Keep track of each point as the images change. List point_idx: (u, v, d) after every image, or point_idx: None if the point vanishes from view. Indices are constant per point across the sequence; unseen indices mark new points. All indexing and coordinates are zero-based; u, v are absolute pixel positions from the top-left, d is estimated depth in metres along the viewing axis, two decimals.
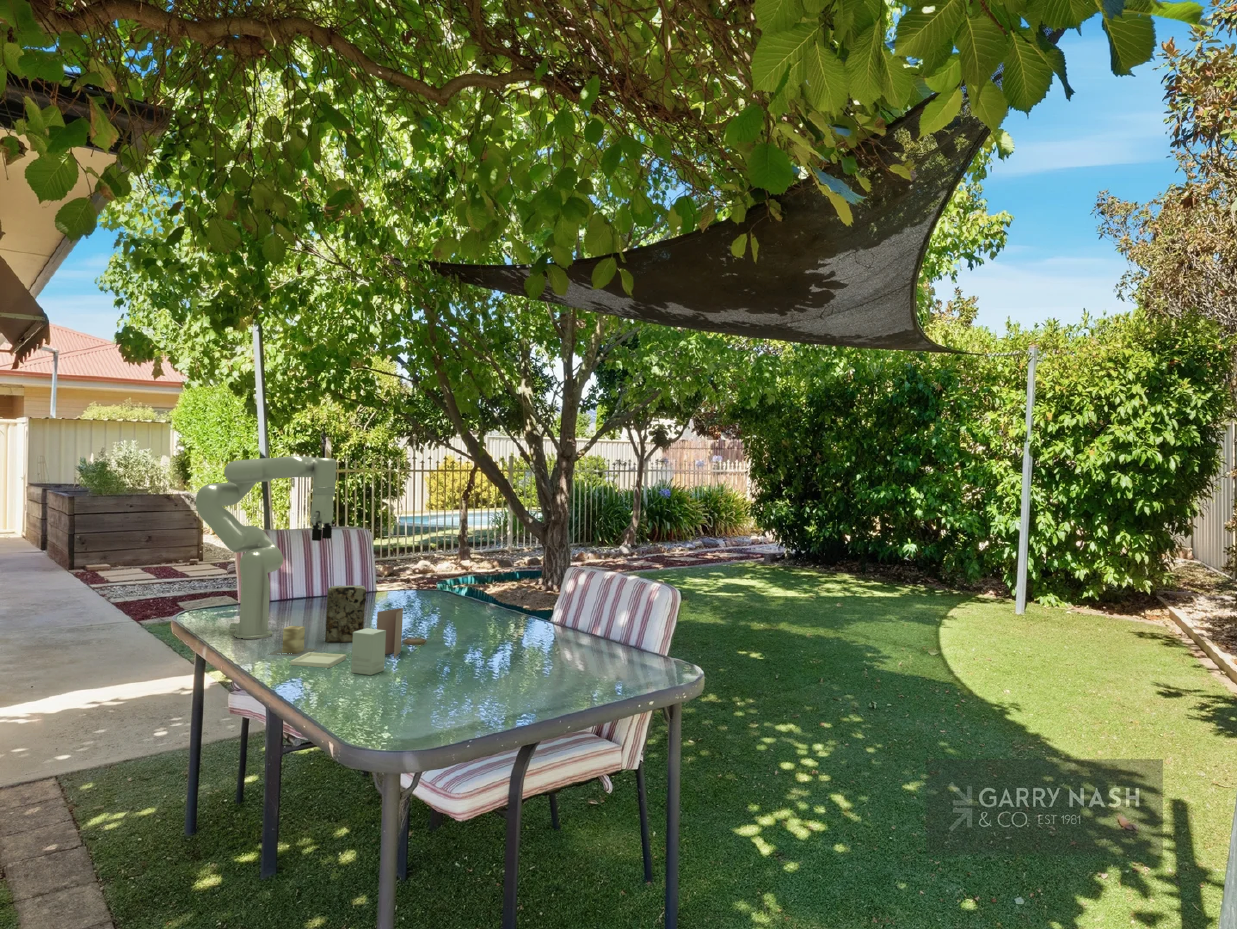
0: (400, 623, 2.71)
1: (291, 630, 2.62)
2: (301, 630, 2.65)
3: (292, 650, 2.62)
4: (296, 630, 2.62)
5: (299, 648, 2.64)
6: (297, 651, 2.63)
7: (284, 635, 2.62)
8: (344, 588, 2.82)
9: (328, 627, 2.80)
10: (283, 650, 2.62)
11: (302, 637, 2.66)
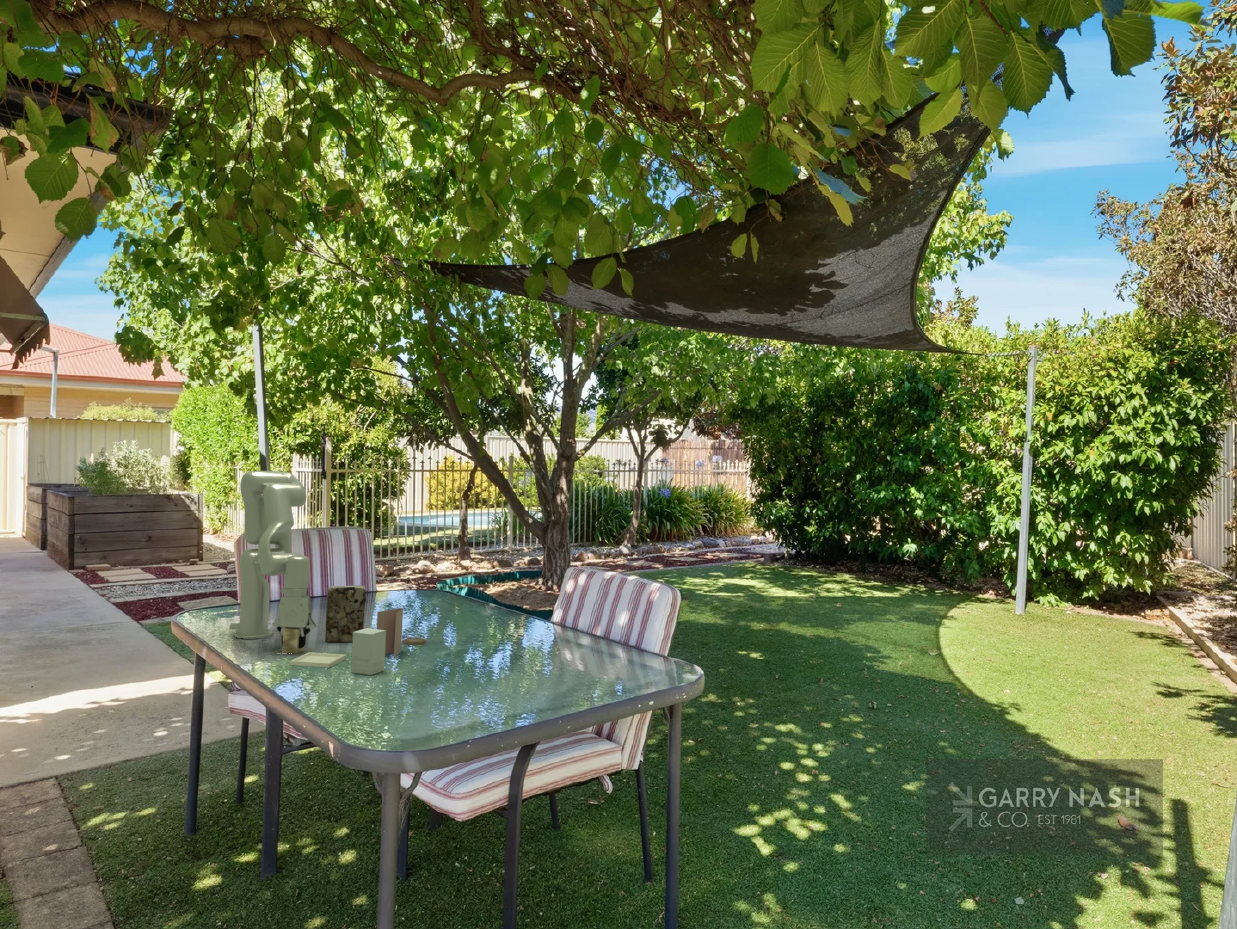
0: (400, 623, 2.71)
1: (291, 630, 2.62)
2: None
3: (292, 650, 2.62)
4: (296, 630, 2.62)
5: (299, 648, 2.64)
6: (297, 651, 2.63)
7: (284, 635, 2.62)
8: (344, 588, 2.82)
9: (328, 627, 2.80)
10: (283, 650, 2.62)
11: None
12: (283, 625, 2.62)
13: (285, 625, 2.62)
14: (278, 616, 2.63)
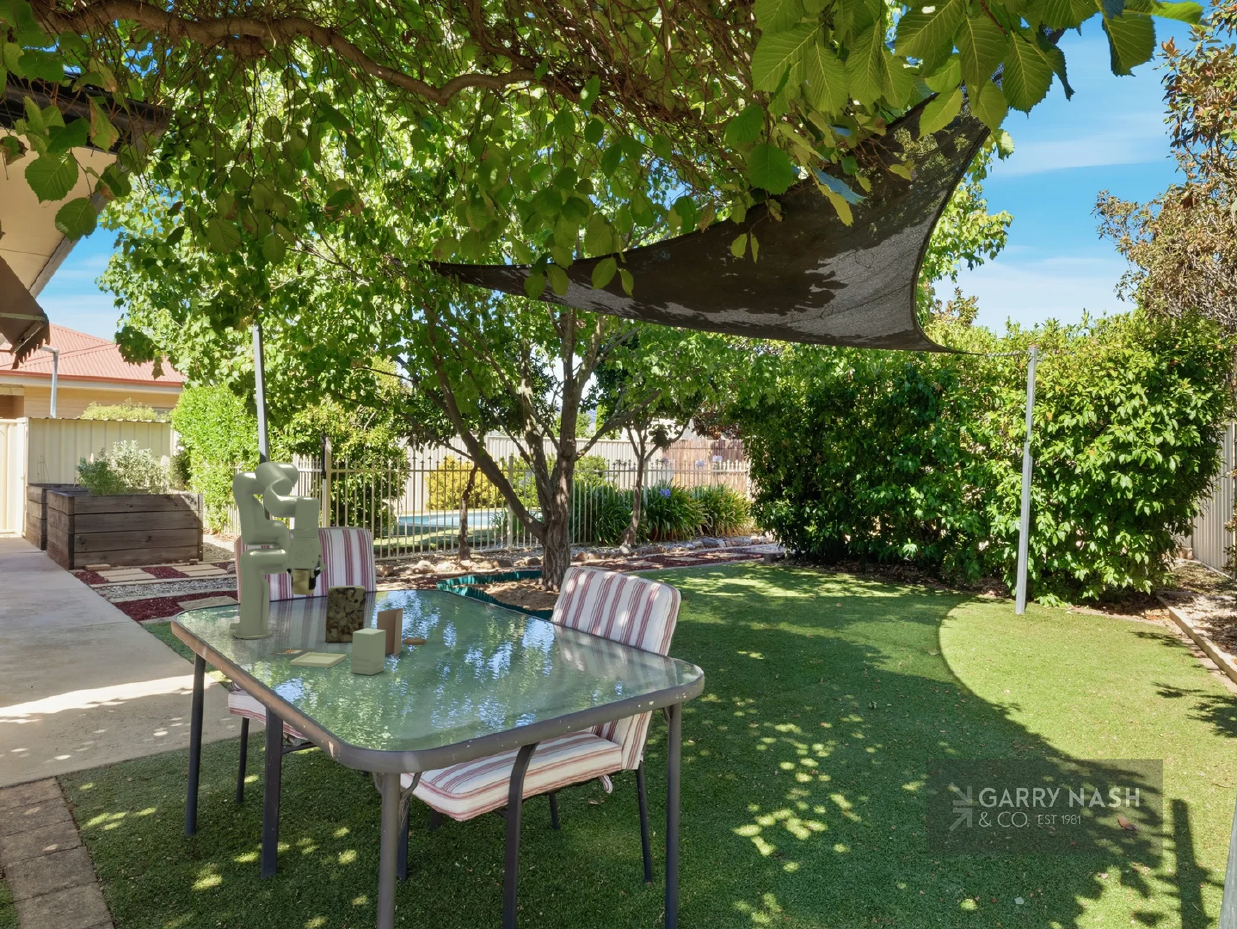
0: (400, 623, 2.71)
1: (301, 571, 2.59)
2: None
3: (302, 592, 2.59)
4: (306, 571, 2.59)
5: (309, 590, 2.61)
6: (307, 593, 2.60)
7: (294, 576, 2.59)
8: (344, 588, 2.82)
9: (328, 627, 2.80)
10: (293, 592, 2.59)
11: None
12: (293, 566, 2.59)
13: (295, 566, 2.59)
14: (288, 557, 2.60)
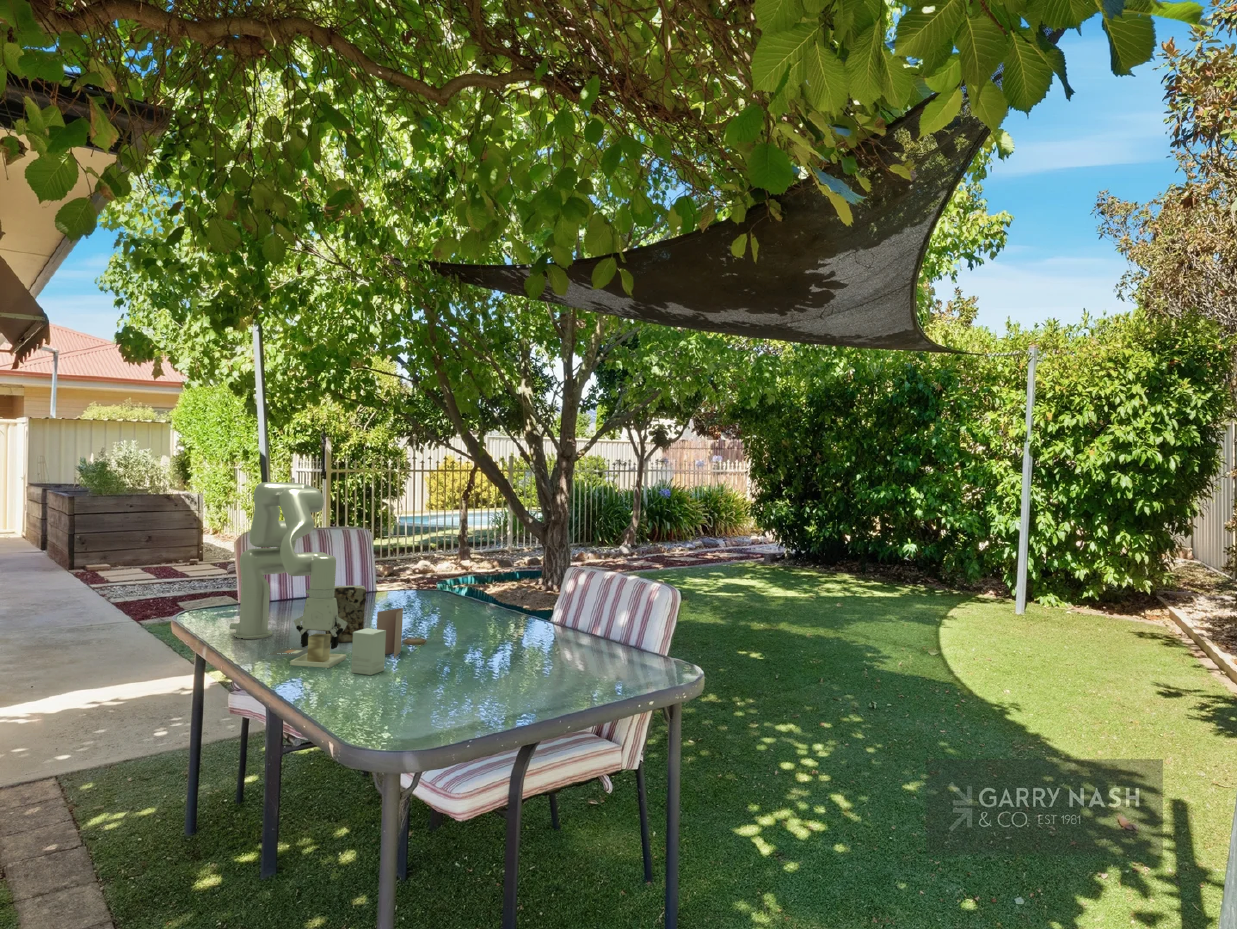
0: (400, 623, 2.71)
1: (316, 638, 2.50)
2: (327, 638, 2.53)
3: (317, 659, 2.50)
4: (322, 638, 2.50)
5: (324, 657, 2.52)
6: (323, 660, 2.51)
7: (309, 643, 2.51)
8: (344, 588, 2.82)
9: None
10: (308, 659, 2.51)
11: (328, 645, 2.54)
12: (309, 628, 2.50)
13: (311, 627, 2.50)
14: (303, 618, 2.51)
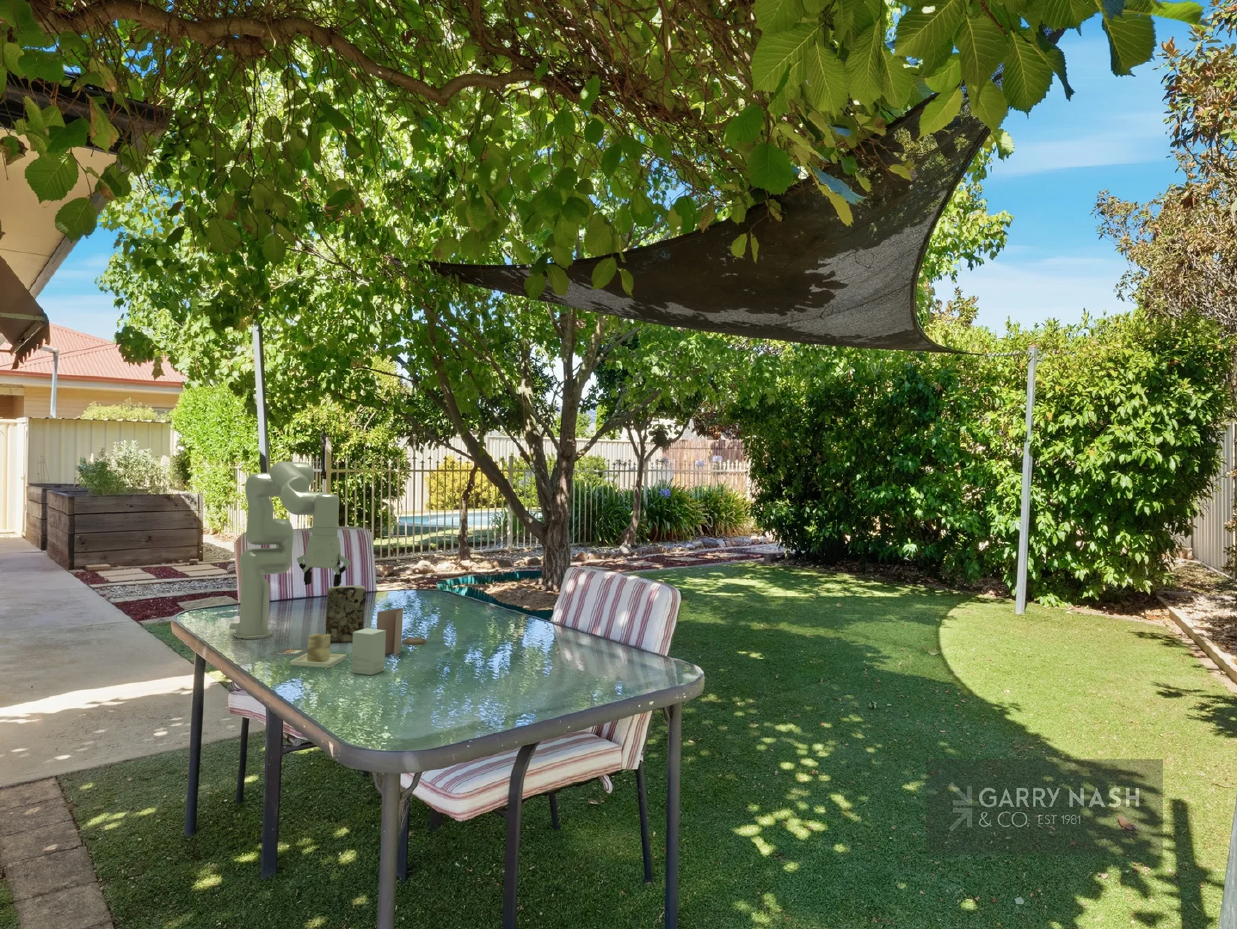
0: (400, 623, 2.71)
1: (316, 638, 2.50)
2: (327, 638, 2.53)
3: (317, 659, 2.50)
4: (322, 638, 2.50)
5: (324, 657, 2.52)
6: (323, 660, 2.51)
7: (309, 643, 2.51)
8: (344, 588, 2.82)
9: (328, 627, 2.80)
10: (308, 659, 2.51)
11: (328, 645, 2.54)
12: (312, 565, 2.52)
13: (314, 565, 2.52)
14: (306, 556, 2.52)
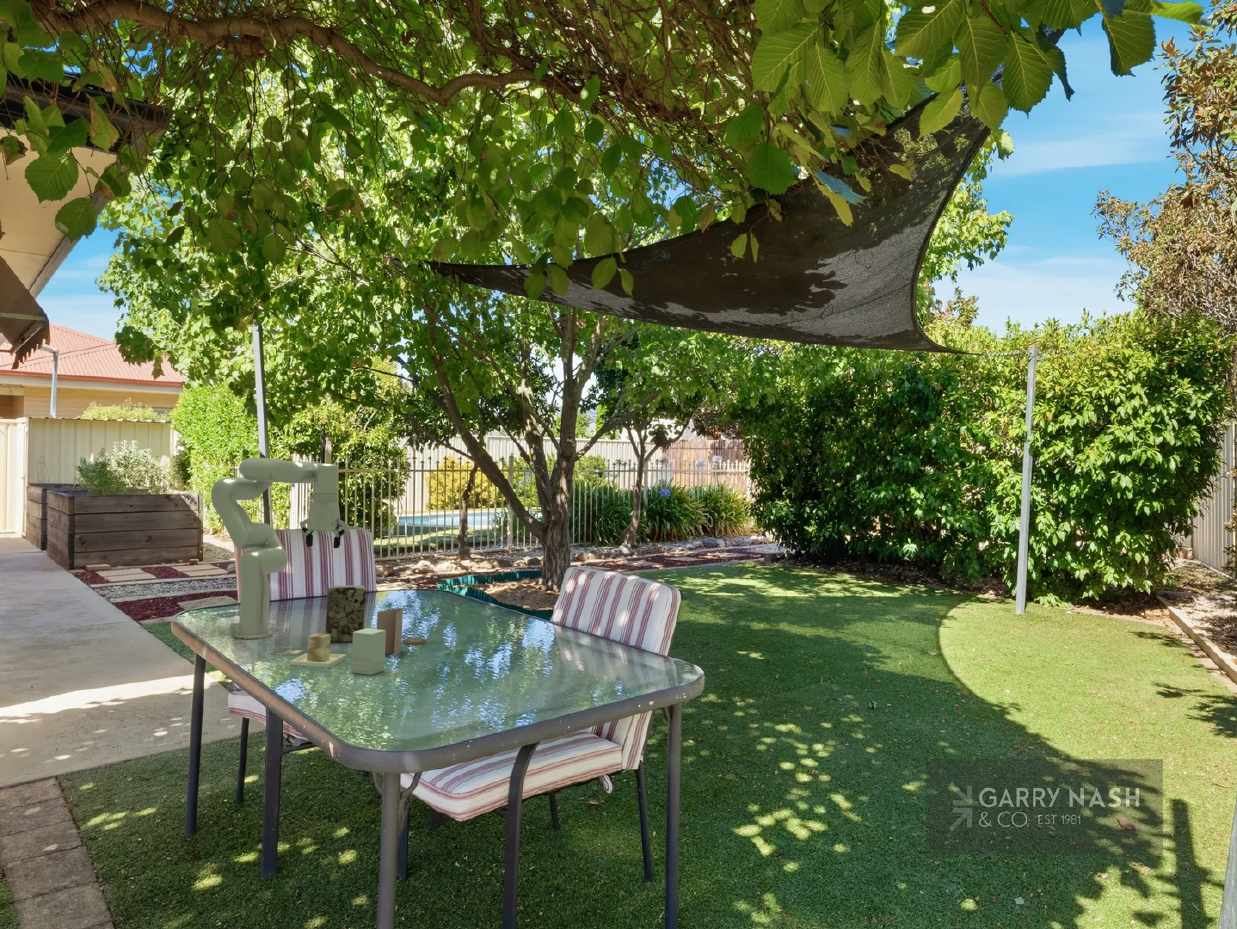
0: (400, 623, 2.71)
1: (316, 638, 2.50)
2: (327, 638, 2.53)
3: (317, 659, 2.50)
4: (322, 638, 2.50)
5: (324, 657, 2.52)
6: (323, 660, 2.51)
7: (309, 643, 2.51)
8: (344, 588, 2.82)
9: (328, 627, 2.80)
10: (308, 659, 2.51)
11: (328, 645, 2.54)
12: (313, 528, 2.75)
13: (315, 528, 2.74)
14: (308, 520, 2.75)
